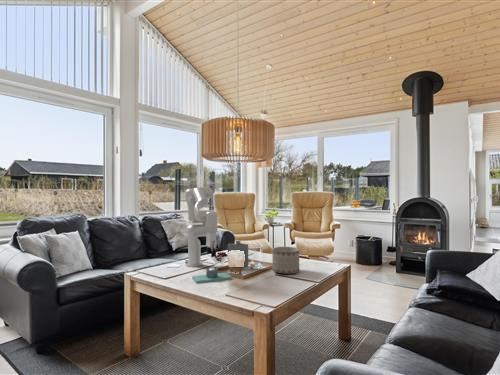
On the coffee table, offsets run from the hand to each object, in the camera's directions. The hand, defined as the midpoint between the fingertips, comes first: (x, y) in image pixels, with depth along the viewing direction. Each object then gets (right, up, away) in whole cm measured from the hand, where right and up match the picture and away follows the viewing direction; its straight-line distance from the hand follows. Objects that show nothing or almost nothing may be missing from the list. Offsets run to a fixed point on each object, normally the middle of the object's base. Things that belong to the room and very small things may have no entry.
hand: (211, 255), depth 217 cm
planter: (+52, -16, +16) cm, 57 cm away
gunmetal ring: (0, -14, 0) cm, 14 cm away
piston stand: (0, -16, 0) cm, 16 cm away
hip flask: (+17, -16, +31) cm, 39 cm away
